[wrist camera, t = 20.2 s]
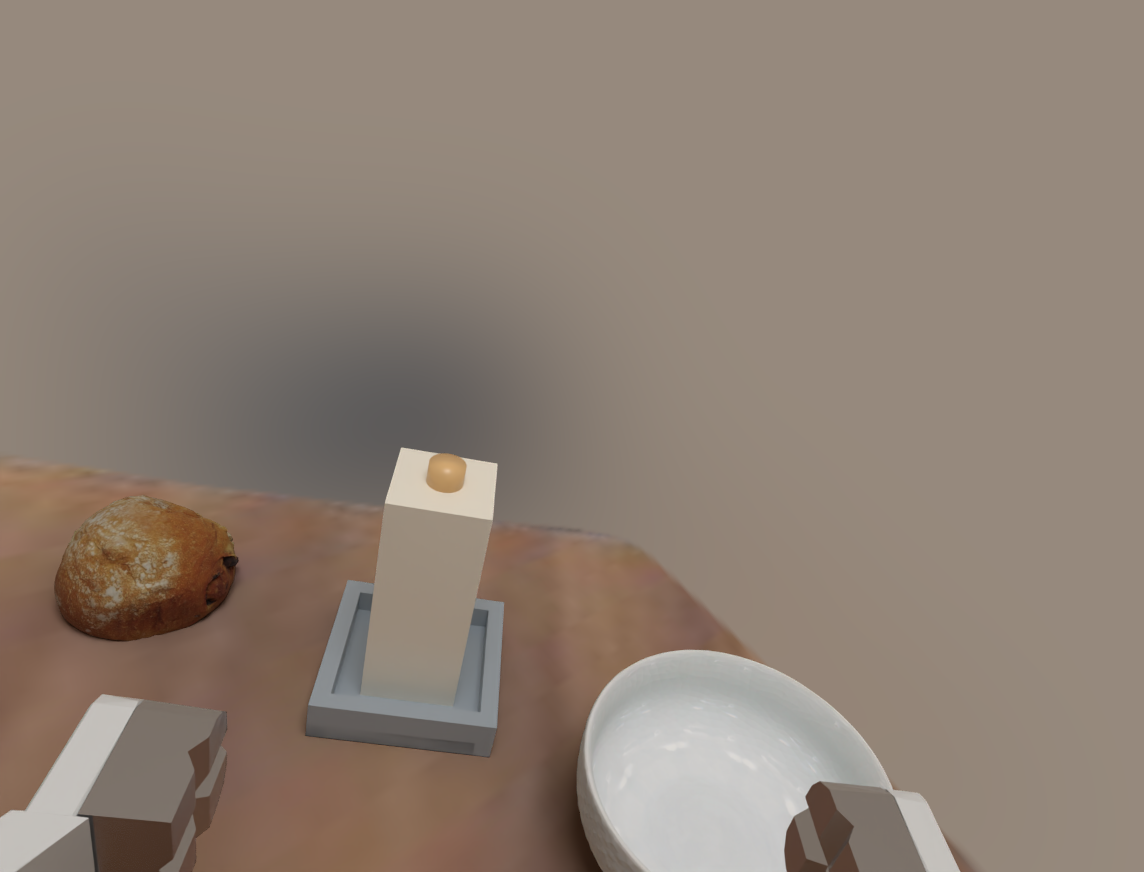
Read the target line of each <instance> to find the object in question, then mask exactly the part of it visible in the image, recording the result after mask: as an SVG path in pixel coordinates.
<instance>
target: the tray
mask: <svg viewBox="0 0 1144 872" xmlns="http://www.w3.org/2000/svg"><path fill="white" fill-rule="evenodd" d="M373 591H374V584H373V583H366V582H359V581H352V580H348V581H347V585H346V588H345V591H344V594H343V597H342V600H341V603H340V607H339V610H338V613H337V616H336V619H335V622H334V626H333V629H332V632H331V635H330V638H329V641H328V644H327V648H326V651H325V654H324V657H323V660H322V663H321V666H320V670H319V673H318V676H317V679H316V682H315V685H314V688H313V692H312V695H311V698H310V701H309V704H308V713H307V725H306V736H314V737H322V738H331V739H339V740H348V741H356V742H365V743H374V744H382V745H391V746H399V747H408V748H416V749H425V750H433V751H442V752H451V753H459V754H468V755H476V756H485V757H490V753H491V749H492V745H493V741H494V737H495V734H496V730H497V717H498V699H499V682H500V664H501V647H502V629H503V612H504V602H497V601H490V600H483V599H477V598H476V601H475V605H474V610H473V615H472V619H471V624H470V629H469V633H468V638H467V643H466V648H465V652H464V657H463V662H462V666H461V671H460V676H459V680H458V685H457V690H456V695H455V699H454V704H453V707H451V706H443V705H435V704H428V703H420V702H412V701H404V700H396V699H388V698H380V697H372V696H364V695H360V692H361V684H362V676H363V669H364V661H365V653H366V645H367V638H368V630H369V622H370V615H371V607H372V599H373Z"/></svg>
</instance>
